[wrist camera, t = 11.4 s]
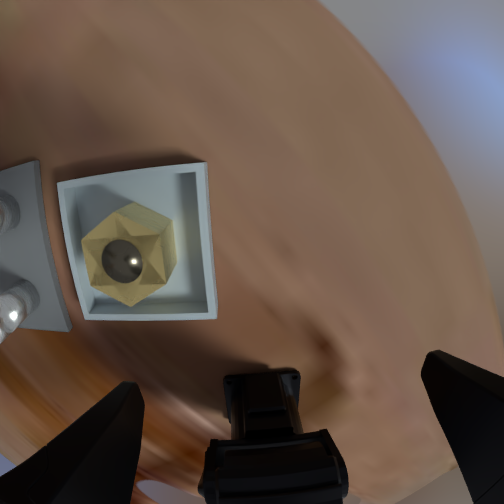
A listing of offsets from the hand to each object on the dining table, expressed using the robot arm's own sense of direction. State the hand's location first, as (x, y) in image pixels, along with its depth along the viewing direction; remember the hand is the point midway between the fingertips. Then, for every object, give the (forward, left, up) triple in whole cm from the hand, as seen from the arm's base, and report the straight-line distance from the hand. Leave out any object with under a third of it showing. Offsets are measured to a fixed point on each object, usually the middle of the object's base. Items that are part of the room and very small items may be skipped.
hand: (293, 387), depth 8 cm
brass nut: (+1, +8, -13) cm, 15 cm away
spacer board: (+1, +23, -13) cm, 26 cm away
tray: (+1, +8, -13) cm, 15 cm away
